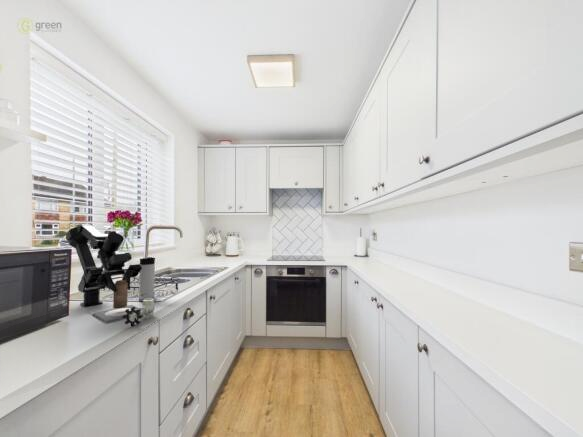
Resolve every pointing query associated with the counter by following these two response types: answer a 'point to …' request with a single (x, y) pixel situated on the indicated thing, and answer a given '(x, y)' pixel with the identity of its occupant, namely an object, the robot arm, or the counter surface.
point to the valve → (140, 312)
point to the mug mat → (113, 314)
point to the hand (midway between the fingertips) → (122, 290)
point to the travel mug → (146, 278)
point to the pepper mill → (120, 294)
